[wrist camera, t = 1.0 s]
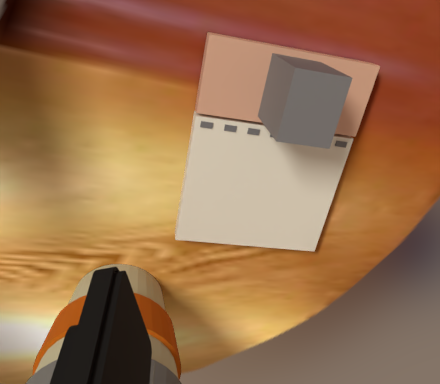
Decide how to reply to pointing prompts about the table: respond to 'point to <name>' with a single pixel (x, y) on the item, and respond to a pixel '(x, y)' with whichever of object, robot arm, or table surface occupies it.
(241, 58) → the stub
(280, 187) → the white notepad
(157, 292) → the reusable coffee cup
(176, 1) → the table surface
